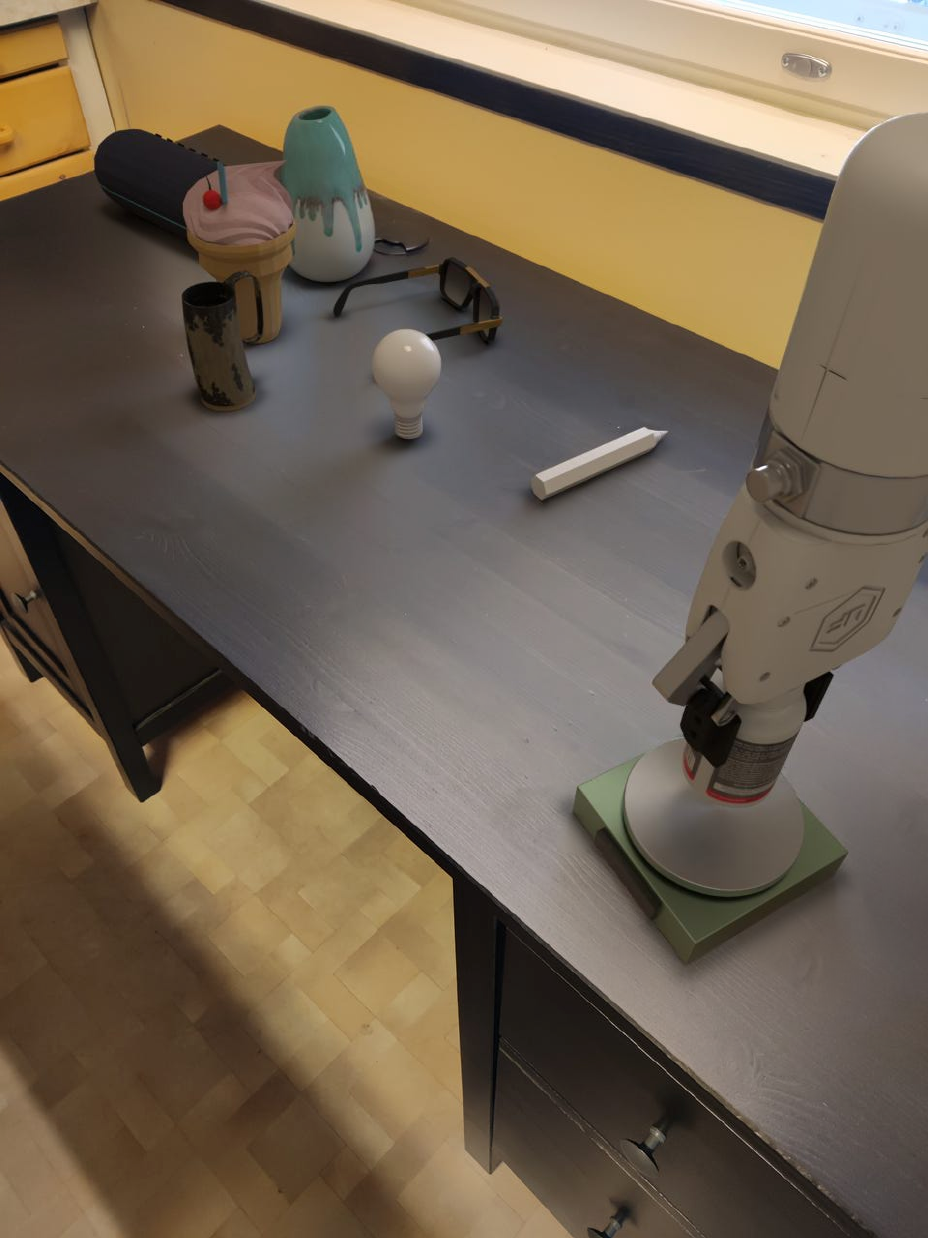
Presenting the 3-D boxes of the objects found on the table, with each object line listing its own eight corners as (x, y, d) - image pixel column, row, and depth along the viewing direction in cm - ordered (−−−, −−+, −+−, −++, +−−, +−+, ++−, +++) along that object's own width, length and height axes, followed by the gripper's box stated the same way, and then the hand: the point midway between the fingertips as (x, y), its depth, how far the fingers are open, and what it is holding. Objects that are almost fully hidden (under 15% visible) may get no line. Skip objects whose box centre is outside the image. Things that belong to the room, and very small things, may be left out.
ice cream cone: (318, 350, 101) (296, 157, 86) (216, 367, 98) (176, 171, 84) (296, 302, 108) (273, 116, 93) (201, 317, 105) (161, 128, 91)
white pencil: (666, 445, 91) (538, 503, 84) (655, 427, 91) (527, 483, 85) (680, 432, 88) (550, 491, 82) (669, 414, 89) (538, 470, 82)
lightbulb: (411, 409, 93) (407, 308, 85) (455, 436, 90) (456, 334, 82) (362, 435, 90) (354, 332, 82) (406, 464, 87) (402, 361, 79)
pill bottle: (791, 773, 54) (843, 665, 47) (738, 829, 52) (785, 724, 45) (715, 719, 57) (753, 609, 50) (661, 770, 54) (694, 662, 47)
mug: (214, 418, 92) (189, 305, 83) (190, 392, 95) (164, 281, 86) (285, 392, 95) (269, 281, 86) (260, 368, 98) (241, 258, 89)
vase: (263, 281, 111) (239, 120, 98) (311, 241, 118) (294, 86, 105) (350, 300, 108) (336, 137, 95) (393, 258, 115) (386, 101, 102)
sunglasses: (333, 316, 106) (329, 274, 102) (453, 289, 110) (454, 248, 107) (380, 378, 97) (378, 334, 93) (509, 345, 102) (511, 303, 98)
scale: (712, 739, 66) (721, 714, 64) (834, 875, 59) (849, 852, 57) (566, 813, 62) (570, 789, 59) (679, 969, 55) (689, 948, 52)
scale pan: (721, 718, 63) (724, 711, 62) (839, 845, 56) (843, 839, 56) (588, 785, 59) (589, 778, 59) (698, 929, 53) (700, 923, 52)
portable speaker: (278, 246, 117) (267, 163, 110) (215, 273, 112) (199, 189, 105) (159, 189, 129) (141, 111, 121) (96, 212, 123) (74, 132, 116)
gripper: (752, 586, 33) (663, 845, 46) (1068, 447, 38) (908, 712, 52) (626, 469, 37) (578, 736, 50) (926, 360, 43) (812, 625, 56)
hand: (746, 722), depth 51 cm, fingers closed on pill bottle, 5 cm apart
